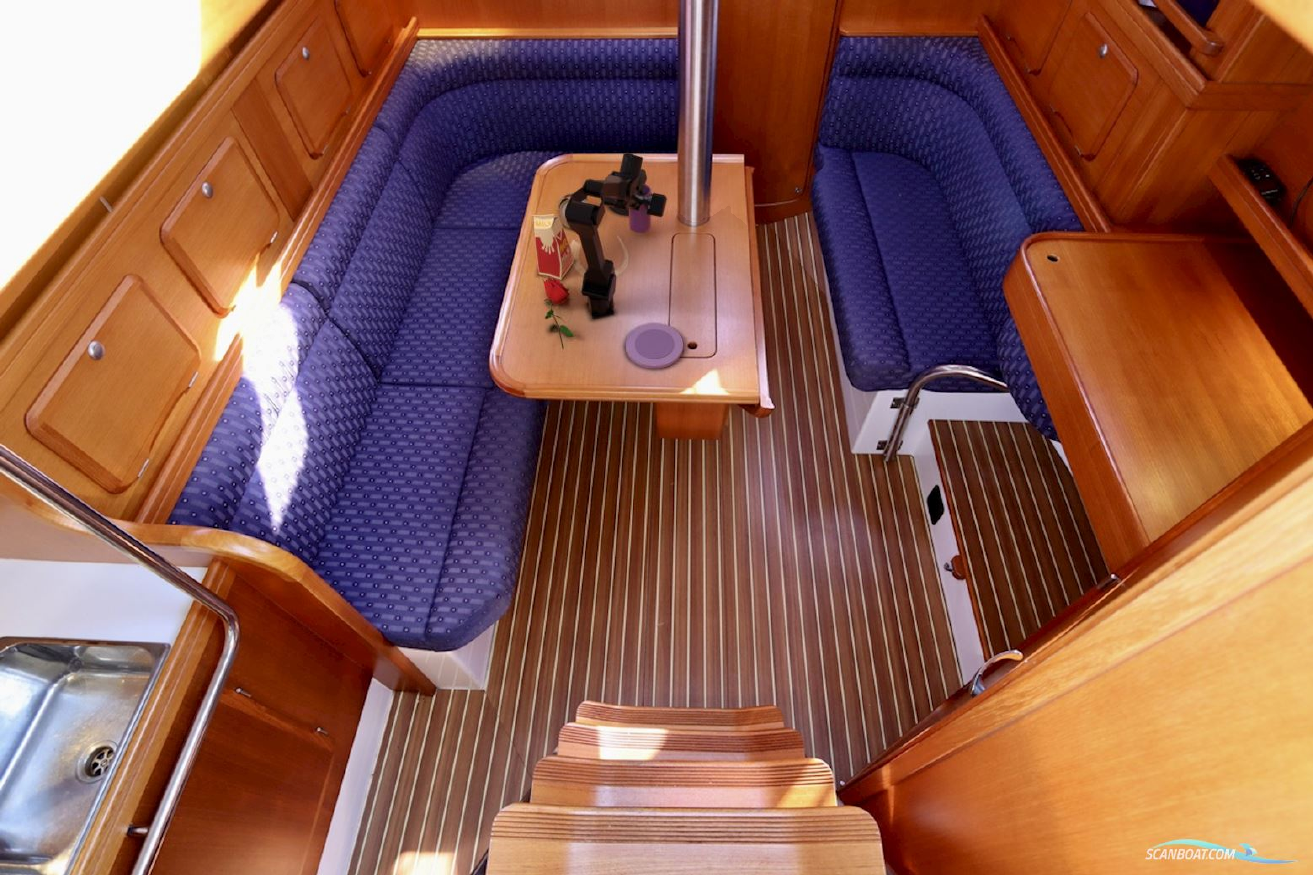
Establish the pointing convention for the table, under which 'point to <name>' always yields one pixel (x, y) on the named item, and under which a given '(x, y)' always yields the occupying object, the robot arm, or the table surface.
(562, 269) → the milk carton
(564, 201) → the alarm clock
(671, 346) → the plate
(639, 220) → the tumbler
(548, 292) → the flower
